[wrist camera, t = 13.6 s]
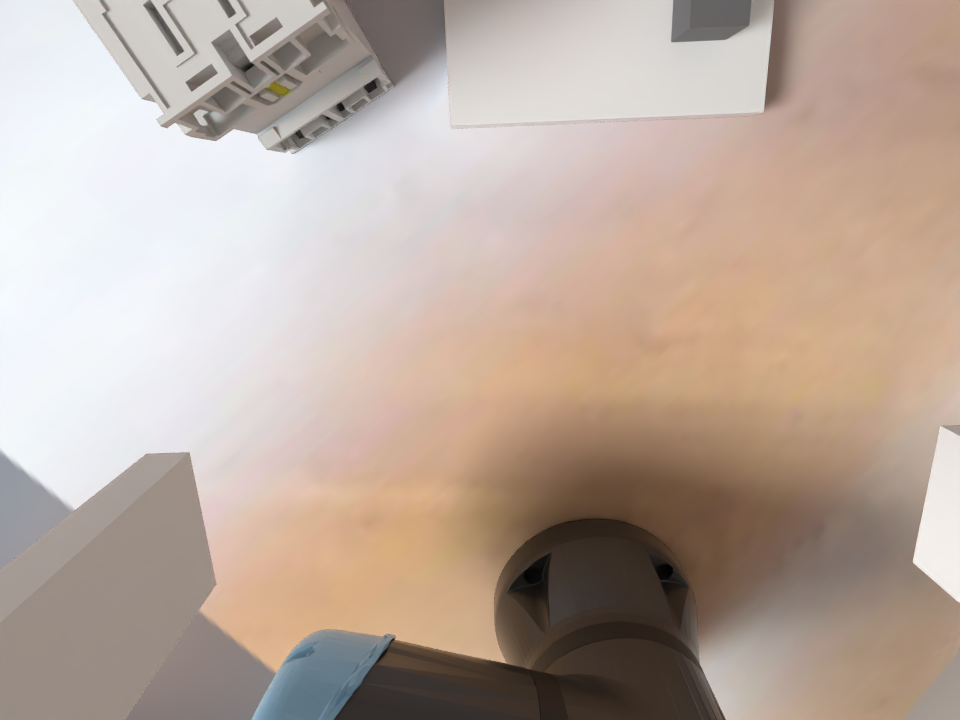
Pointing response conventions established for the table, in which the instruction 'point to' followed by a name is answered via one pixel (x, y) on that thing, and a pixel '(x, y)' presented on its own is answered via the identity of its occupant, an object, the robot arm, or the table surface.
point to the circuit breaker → (242, 64)
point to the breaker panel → (604, 60)
